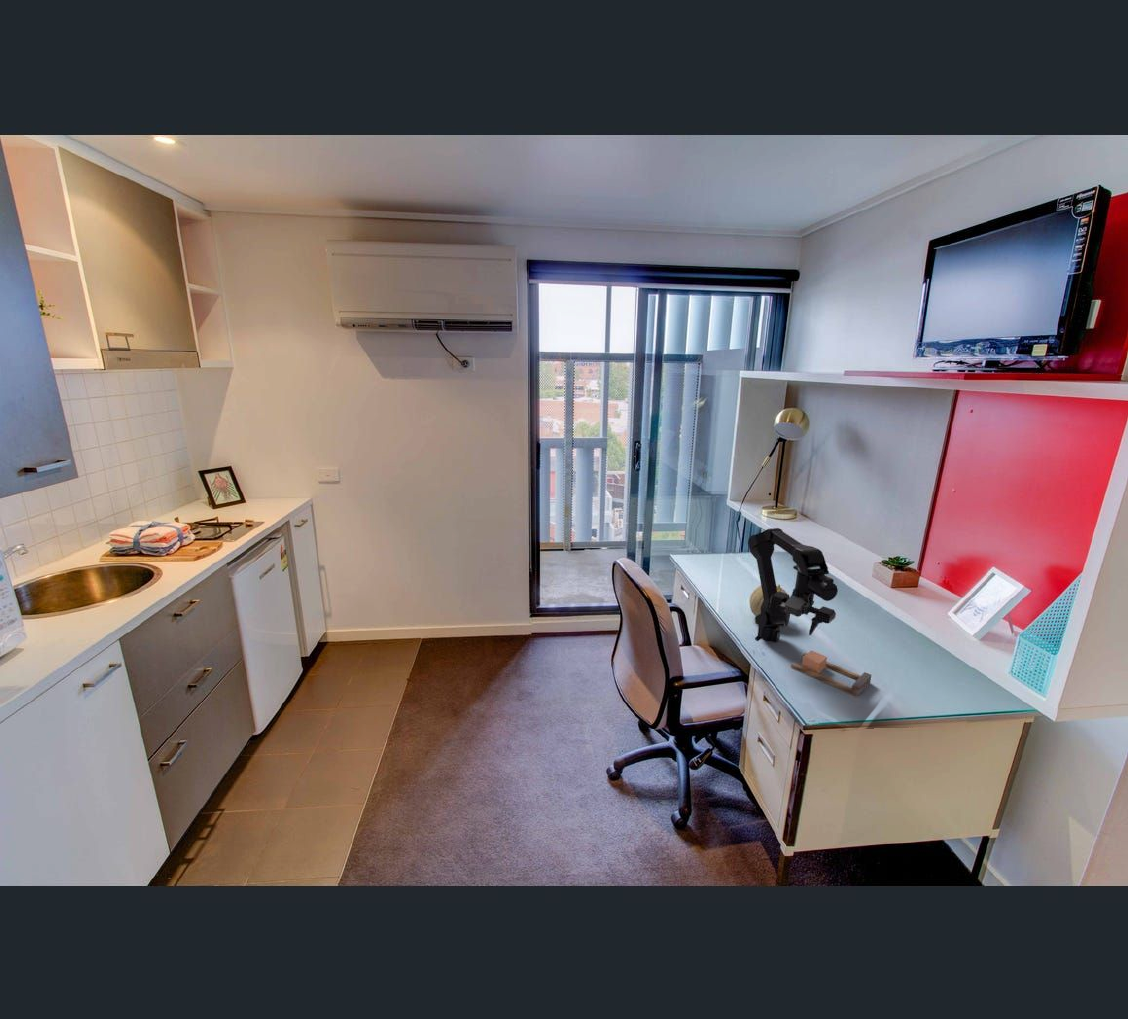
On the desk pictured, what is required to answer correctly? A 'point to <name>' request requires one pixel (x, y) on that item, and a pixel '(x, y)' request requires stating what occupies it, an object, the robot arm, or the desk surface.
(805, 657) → the block
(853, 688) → the channel
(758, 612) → the cantaloupe
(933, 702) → the desk surface
